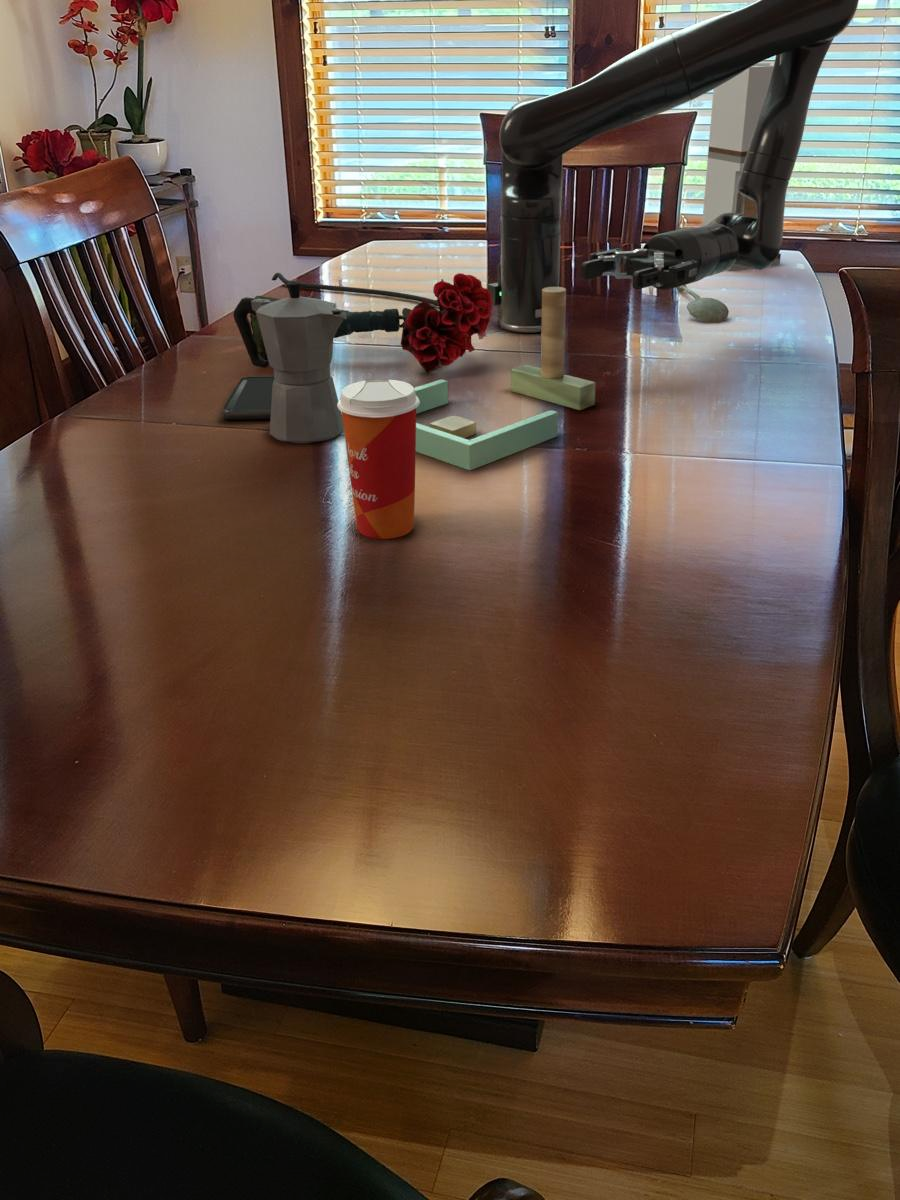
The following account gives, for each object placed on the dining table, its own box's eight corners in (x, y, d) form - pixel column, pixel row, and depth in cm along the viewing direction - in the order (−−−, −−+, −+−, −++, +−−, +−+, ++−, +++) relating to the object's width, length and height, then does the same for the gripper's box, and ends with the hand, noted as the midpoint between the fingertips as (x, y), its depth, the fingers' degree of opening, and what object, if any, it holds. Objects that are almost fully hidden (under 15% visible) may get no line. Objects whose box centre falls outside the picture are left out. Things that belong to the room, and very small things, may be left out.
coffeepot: (373, 425, 133) (364, 276, 124) (334, 450, 125) (321, 294, 117) (268, 411, 139) (253, 268, 130) (225, 434, 131) (205, 284, 123)
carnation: (269, 409, 163) (499, 396, 160) (232, 357, 145) (490, 341, 142) (271, 314, 167) (497, 299, 163) (235, 251, 149) (488, 233, 145)
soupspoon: (690, 327, 173) (731, 327, 173) (693, 306, 171) (734, 306, 171) (662, 291, 192) (699, 291, 192) (665, 272, 190) (701, 272, 190)
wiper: (525, 386, 146) (526, 280, 139) (594, 404, 138) (599, 294, 131) (510, 391, 144) (510, 284, 137) (579, 410, 136) (583, 298, 129)
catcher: (442, 401, 141) (441, 378, 139) (557, 436, 128) (558, 412, 127) (354, 430, 132) (353, 406, 130) (469, 470, 119) (469, 445, 118)
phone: (220, 411, 135) (242, 376, 148) (221, 420, 136) (243, 384, 149) (282, 410, 135) (299, 375, 148) (283, 419, 136) (299, 383, 149)
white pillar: (729, 270, 206) (749, 67, 190) (699, 260, 215) (715, 65, 198) (779, 264, 210) (803, 64, 193) (747, 255, 218) (767, 62, 202)
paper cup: (346, 513, 110) (336, 379, 103) (421, 509, 110) (416, 375, 103) (346, 546, 103) (335, 405, 96) (426, 542, 103) (421, 401, 97)
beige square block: (453, 426, 132) (453, 414, 131) (476, 434, 129) (476, 422, 129) (429, 435, 130) (429, 423, 129) (453, 442, 127) (452, 430, 126)
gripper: (641, 223, 153) (568, 239, 144) (727, 235, 144) (655, 253, 135) (637, 277, 157) (565, 296, 147) (721, 292, 148) (651, 313, 138)
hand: (608, 276), depth 141 cm, fingers open, 8 cm apart
